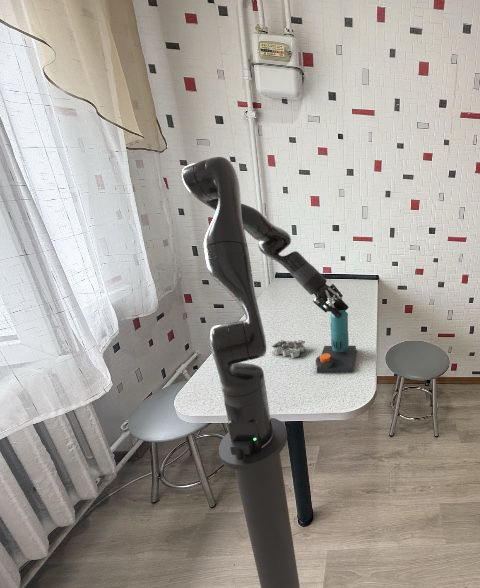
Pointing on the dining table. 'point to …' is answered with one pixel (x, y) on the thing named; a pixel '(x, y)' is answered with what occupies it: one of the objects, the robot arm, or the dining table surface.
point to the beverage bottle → (339, 329)
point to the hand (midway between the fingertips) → (343, 312)
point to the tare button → (325, 358)
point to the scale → (337, 360)
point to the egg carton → (289, 348)
